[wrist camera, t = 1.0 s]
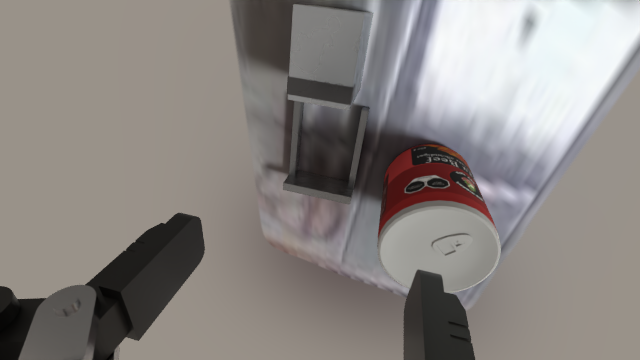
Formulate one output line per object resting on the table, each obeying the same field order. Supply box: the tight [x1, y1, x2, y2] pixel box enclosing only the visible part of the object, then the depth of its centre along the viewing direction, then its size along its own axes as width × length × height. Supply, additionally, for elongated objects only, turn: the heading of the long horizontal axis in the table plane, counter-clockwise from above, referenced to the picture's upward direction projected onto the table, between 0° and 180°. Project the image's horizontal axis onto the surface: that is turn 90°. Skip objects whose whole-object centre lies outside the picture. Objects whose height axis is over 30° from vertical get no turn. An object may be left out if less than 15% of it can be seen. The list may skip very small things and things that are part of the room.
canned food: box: [377, 144, 501, 293], centre depth 25 cm, size 8×8×11 cm
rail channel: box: [283, 101, 370, 204], centre depth 29 cm, size 9×7×3 cm
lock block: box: [287, 4, 373, 110], centre depth 23 cm, size 6×5×7 cm
